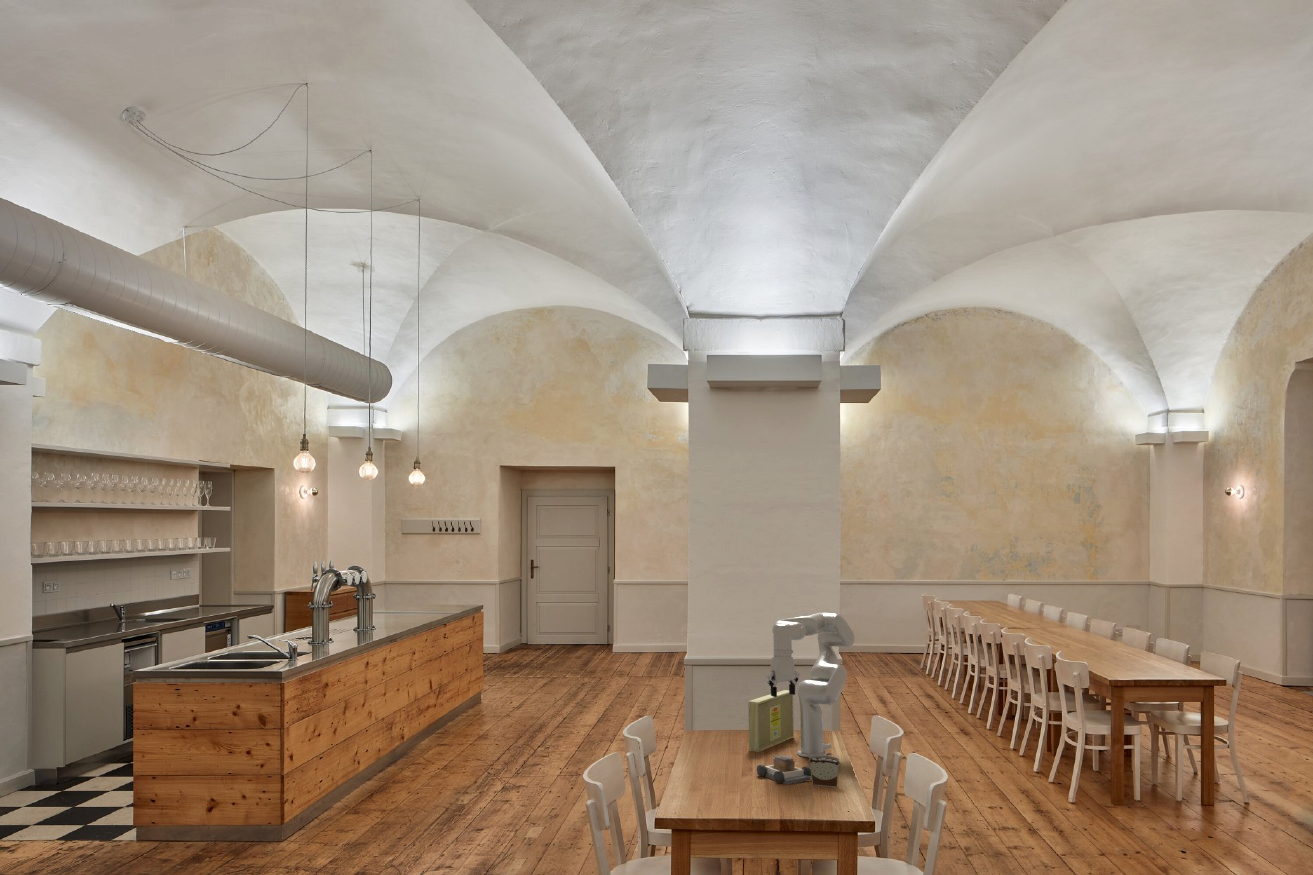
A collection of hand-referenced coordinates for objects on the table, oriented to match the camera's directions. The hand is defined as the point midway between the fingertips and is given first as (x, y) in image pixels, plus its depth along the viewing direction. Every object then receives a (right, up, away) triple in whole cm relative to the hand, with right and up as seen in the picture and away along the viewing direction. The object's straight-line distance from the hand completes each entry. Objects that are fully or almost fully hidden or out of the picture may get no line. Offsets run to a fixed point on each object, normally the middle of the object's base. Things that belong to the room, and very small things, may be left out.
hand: (783, 695), depth 387 cm
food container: (+12, -26, -31) cm, 42 cm away
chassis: (-3, -26, -22) cm, 34 cm away
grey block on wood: (-2, -25, -21) cm, 33 cm away
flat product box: (0, -32, +35) cm, 48 cm away
